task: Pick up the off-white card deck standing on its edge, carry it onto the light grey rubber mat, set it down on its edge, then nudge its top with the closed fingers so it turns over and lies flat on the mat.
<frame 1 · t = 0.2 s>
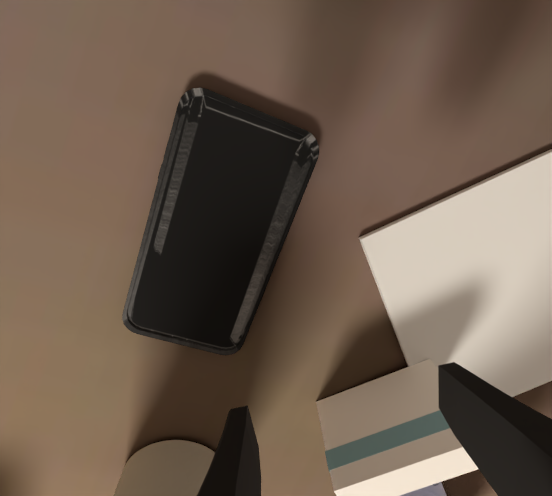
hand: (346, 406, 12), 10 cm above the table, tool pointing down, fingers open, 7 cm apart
travel mug: (176, 470, 26), on the table
mat: (490, 304, 23), on the table
card deck: (376, 390, 24), on the table, touching mat
phone: (215, 233, 20), on the table
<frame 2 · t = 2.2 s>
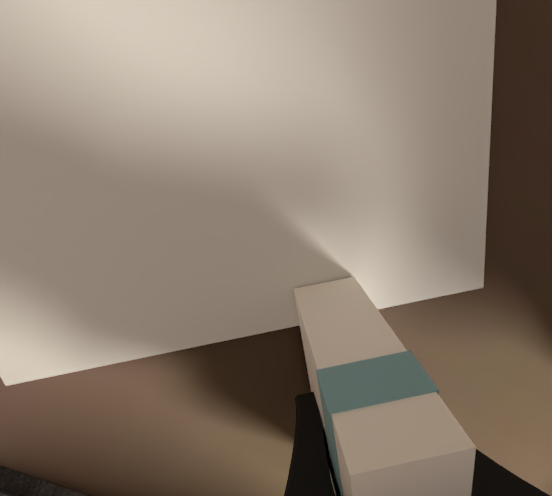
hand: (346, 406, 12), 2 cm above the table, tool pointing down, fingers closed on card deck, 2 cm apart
mat: (203, 139, 10), on the table
card deck: (336, 378, 13), on the table, touching gripper, mat
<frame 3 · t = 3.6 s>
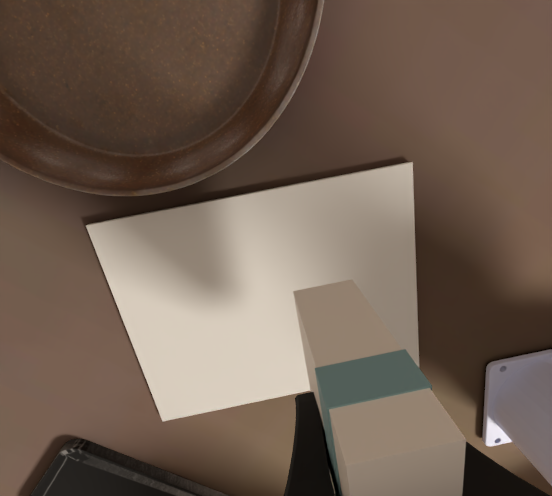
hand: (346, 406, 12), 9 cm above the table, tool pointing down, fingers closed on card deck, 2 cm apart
mat: (273, 302, 20), on the table
card deck: (335, 379, 13), point 7 cm above the table, touching gripper
when the fingers open (3 cm above the table, at t = 4.8 s): card deck drops 1 cm, resting on mat.
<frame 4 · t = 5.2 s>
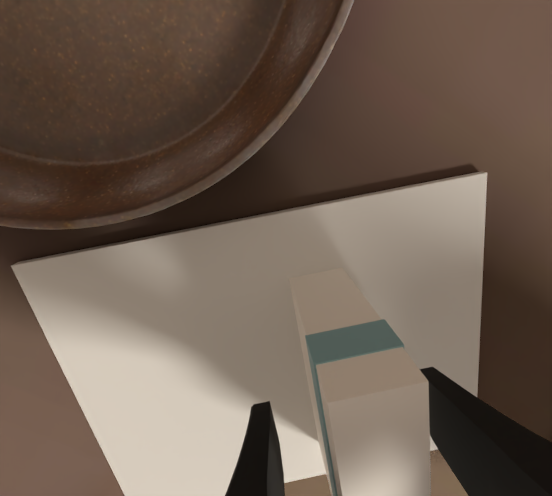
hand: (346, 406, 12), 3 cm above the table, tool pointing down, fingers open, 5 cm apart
mat: (284, 363, 15), on the table
card deck: (329, 363, 14), resting on mat
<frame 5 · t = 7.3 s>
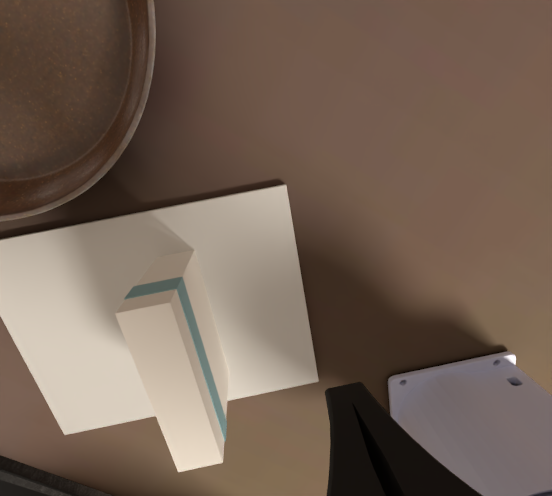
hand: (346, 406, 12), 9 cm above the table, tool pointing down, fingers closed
mat: (165, 319, 20), on the table
card deck: (196, 319, 20), resting on mat
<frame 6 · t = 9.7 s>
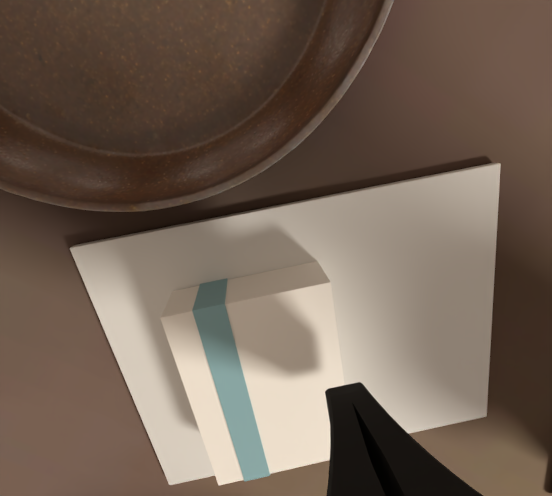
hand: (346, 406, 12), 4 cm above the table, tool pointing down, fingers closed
mat: (310, 341, 16), on the table
card deck: (336, 360, 14), point 1 cm above the table, tilted 89°, touching mat
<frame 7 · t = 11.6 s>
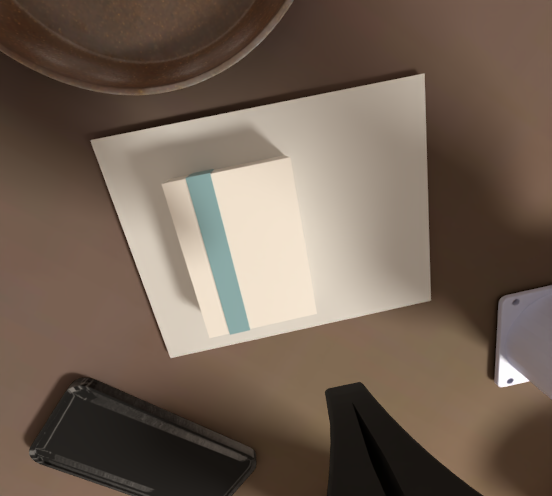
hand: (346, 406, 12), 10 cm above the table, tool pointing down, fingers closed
mat: (282, 229, 20), on the table
card deck: (301, 236, 18), point 1 cm above the table, tilted 89°, touching mat
phone: (153, 444, 25), on the table
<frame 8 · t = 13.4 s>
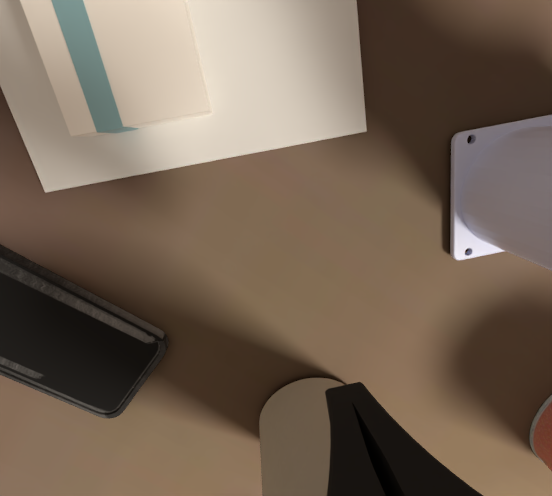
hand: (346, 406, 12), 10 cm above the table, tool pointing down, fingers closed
travel mug: (309, 414, 25), on the table
mat: (174, 16, 16), on the table
card deck: (186, 5, 14), point 1 cm above the table, tilted 89°, touching mat
phone: (43, 322, 21), on the table
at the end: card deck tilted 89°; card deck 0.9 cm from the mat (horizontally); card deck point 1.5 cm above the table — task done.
